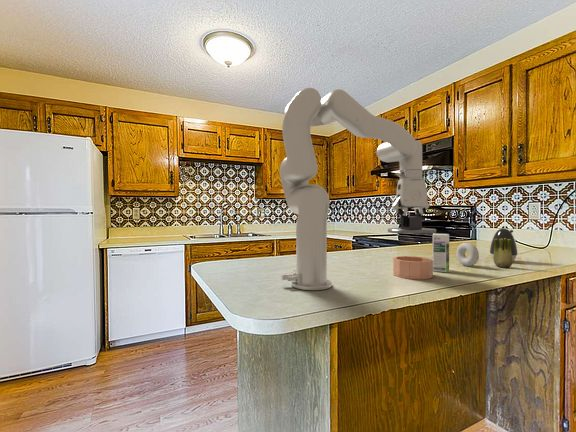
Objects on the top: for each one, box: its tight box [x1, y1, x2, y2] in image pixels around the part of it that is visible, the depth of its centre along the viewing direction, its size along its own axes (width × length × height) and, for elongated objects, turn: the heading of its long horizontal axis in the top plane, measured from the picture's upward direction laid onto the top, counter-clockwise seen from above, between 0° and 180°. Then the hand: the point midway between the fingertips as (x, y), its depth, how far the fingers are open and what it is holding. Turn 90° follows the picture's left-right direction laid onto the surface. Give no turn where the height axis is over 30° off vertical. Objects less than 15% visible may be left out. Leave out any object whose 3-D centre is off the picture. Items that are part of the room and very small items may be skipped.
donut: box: [455, 242, 480, 267], centre depth 122 cm, size 10×4×10 cm, turn 15°
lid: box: [387, 215, 437, 235], centre depth 103 cm, size 16×16×6 cm
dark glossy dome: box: [489, 228, 518, 261], centre depth 133 cm, size 10×10×15 cm
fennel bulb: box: [493, 238, 514, 269], centre depth 119 cm, size 6×5×12 cm
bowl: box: [392, 255, 434, 281], centre depth 104 cm, size 13×13×6 cm
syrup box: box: [432, 233, 450, 274], centre depth 112 cm, size 6×6×14 cm
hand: (411, 226), depth 103 cm, fingers closed on lid, 5 cm apart
